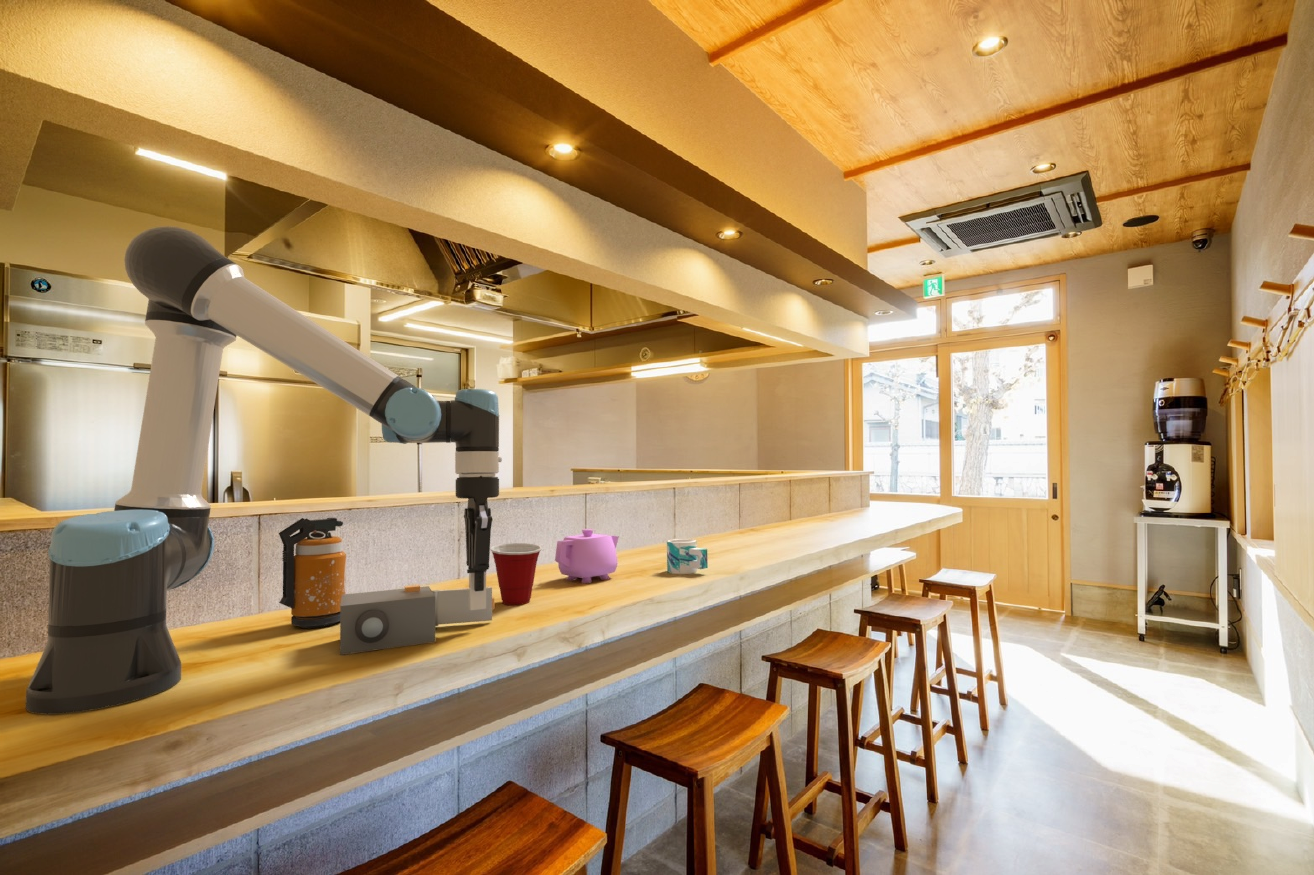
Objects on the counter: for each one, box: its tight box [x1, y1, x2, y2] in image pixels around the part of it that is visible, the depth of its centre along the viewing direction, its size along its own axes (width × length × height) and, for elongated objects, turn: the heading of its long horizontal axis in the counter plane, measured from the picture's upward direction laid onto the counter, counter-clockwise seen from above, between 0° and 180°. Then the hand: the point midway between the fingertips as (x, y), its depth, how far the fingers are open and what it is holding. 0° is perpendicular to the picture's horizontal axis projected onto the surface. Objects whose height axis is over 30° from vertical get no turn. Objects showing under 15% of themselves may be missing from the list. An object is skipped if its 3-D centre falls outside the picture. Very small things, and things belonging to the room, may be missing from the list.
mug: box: [666, 538, 708, 575], centre depth 164 cm, size 8×12×8 cm
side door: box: [432, 586, 495, 627], centre depth 112 cm, size 2×11×6 cm, turn 104°
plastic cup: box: [490, 542, 543, 606], centre depth 130 cm, size 11×11×12 cm
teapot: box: [554, 528, 619, 584], centre depth 157 cm, size 20×12×13 cm, turn 136°
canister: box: [278, 517, 347, 629], centre depth 115 cm, size 9×11×20 cm
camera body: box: [339, 584, 436, 656], centre depth 102 cm, size 14×12×8 cm
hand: (477, 608), depth 109 cm, fingers closed
